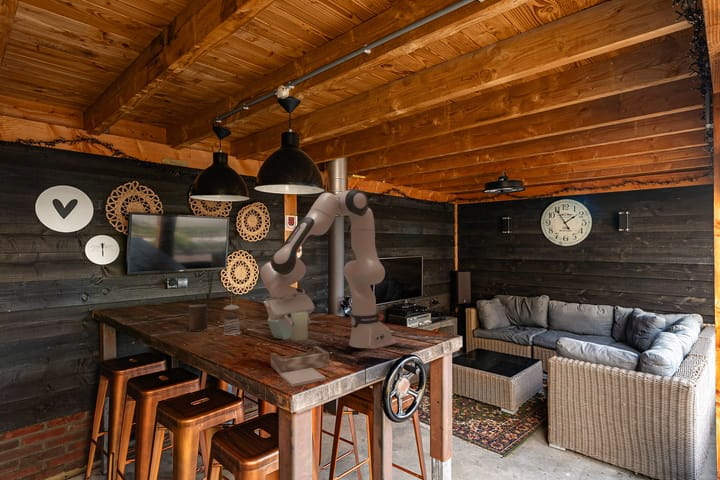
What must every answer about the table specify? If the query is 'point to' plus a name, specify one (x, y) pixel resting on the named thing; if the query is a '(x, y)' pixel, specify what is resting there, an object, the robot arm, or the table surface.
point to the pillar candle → (198, 317)
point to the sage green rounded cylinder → (299, 325)
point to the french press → (228, 320)
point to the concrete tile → (302, 377)
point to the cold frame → (300, 361)
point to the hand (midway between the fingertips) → (300, 324)
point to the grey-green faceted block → (280, 328)
